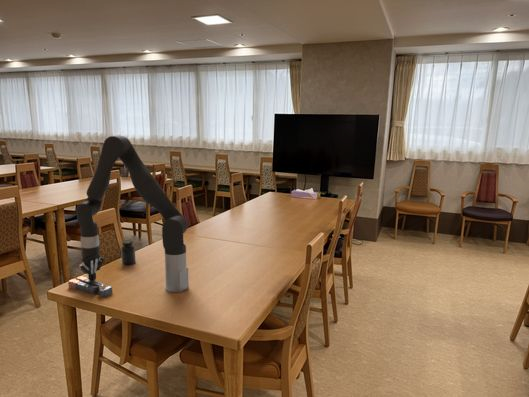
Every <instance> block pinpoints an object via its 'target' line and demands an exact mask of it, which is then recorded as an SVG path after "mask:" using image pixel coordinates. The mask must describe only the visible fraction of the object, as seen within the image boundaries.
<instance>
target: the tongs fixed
mask: <svg viewBox="0 0 529 397" xmlns="http://www.w3.org/2000/svg"><path fill="white" fill-rule="evenodd" d="M67 282H68V288H69V289H71V290H75V291H79V292H83V293H86V294H89V295H92V296H95V295H98V294H99V297H100V298H106V297H108V296H110V295H112V294H113V286H110V285H108V286H106V284H105V283H102V284H100V285H99V292H98V287H97V286H93V285H90V284H87V283H83V282H81V281H79V280H76V278H72V279H69V280H68V281H67Z"/></svg>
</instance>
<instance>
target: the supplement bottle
mask: <svg viewBox="0 0 529 397" xmlns="http://www.w3.org/2000/svg"><path fill="white" fill-rule="evenodd" d="M135 248H136V247H135V246H134V245H133V241H132V240H131V239H127V240H124V241H122V246H121V248H120V254H121V256H120V257H121V264H122V265H123V266H124V265H125V266H131V265H133V264H135V263H136V249H135Z"/></svg>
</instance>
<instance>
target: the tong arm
mask: <svg viewBox="0 0 529 397" xmlns="http://www.w3.org/2000/svg"><path fill="white" fill-rule="evenodd" d="M75 279H76V280H79V281H81V282H83V283H87V284H90V285H93V286H97V287H98V293H99V285H100V284H103V283H102V282H99V281H96V280H95V281H93V280H90V279H89V277H86V276H82V275H80V276H78V277H75Z"/></svg>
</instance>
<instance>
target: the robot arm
mask: <svg viewBox="0 0 529 397" xmlns="http://www.w3.org/2000/svg"><path fill="white" fill-rule="evenodd" d="M118 159H120V161H121V162H122V164H123V165H124V166H125V167H126V169H127V171H128V173H129V176H130V180H131V183H132V185H133V187H134V189H135V191H136V192H137V193H138V194H139V197H141V199H142V200H143V201H144V202H146V204H148V205H150V206H151V207H152V208H153V209H155V210H156V211H157V212H158V213H159V214H160V215H161V217H162V218H163V220H164V222H163V223H162V227H161V234H162V235H161V237H162V246H163V249H164V265H165V266H164V268H165V270H164V271H165V290H166V291H167V292H169V293H182V292H184V291H186V290H187V289H188V288H189V286H190V285H189V279H190V278H189V268H188V267H187V246H186V244H185V243H184V234H185V233H186V231H187V230H188V227H189V226H188V221H187V220H186V218H185V217H184V215H183V214H182V213H181V212H180V211H179V210H178V208H176V206H175V205H174V204H173V202H172V201H171V200H170V199H169V197H168V196H167V194H166V193H165V190H163V189H162V187H161V185H160V184H159V182H158V181H157V180H156V178H155V177H154V176H153V174H152V173H151V171H150V170H149V169H148V167H147V165H145V163H144V162H143V161H142V160H141V158H140V156H139V154H138V152H137V151H136V150H135V148H134V146H133V144H132V142H131V141H130V139H128V138H127V137H125V136H124V135H110V136H108V137H107V138H105V140H104V142H103V144H102V147H101V152H100V156H99V159H98V163H97V166H96V169H95V172H94V175H93V177H92V179H91V180H90V183H89V185H88V187H87V190H86V196H87V199H86V200H85V201H84V202H81V203H79V204H78V205H77V207H76V210H75V215H76V218H77V222H78V225H79V226H80V251H81V256H82V259H81V263H80V264H78V265H77V268H78V269H79V270H81V272H83V273H84V274H86V275H87V276H88V279H90V280H93V281H96V279H97V272H98V271H100V270H101V267H102V265H103V263H104V262H105V258H104V257H102V256H101V255H100V253H101V250H100V249H101V248H100V237H99V229H98V228H99V226H98V223H97V222H96V221H94V218H93V216H95V215H97V214H98V213H99V211H100V209H101V206H102V202H103V199H104V198H103V197H104V196H105V193H106V192H107V189H108V187H109V185H110V180H111V175H112V174H111V173H112V170H113V167H114V165H115V164H116V162H117V161H118Z"/></svg>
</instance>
